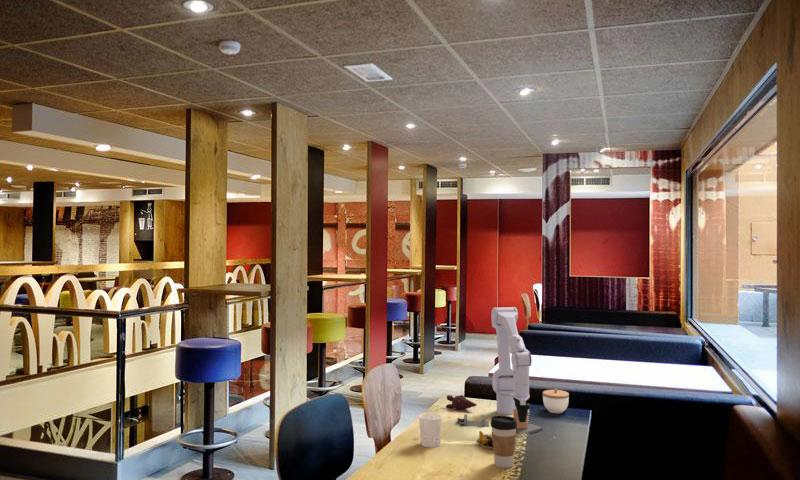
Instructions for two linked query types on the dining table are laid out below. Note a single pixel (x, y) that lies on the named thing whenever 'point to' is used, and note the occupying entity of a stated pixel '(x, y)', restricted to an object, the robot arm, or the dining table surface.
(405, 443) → the dining table surface
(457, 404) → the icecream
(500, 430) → the coffee cup
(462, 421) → the vise
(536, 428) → the mat
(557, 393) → the lidded jar
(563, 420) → the dining table surface
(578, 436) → the dining table surface
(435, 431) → the white cup
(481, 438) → the toy sandwich meal
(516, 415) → the block
